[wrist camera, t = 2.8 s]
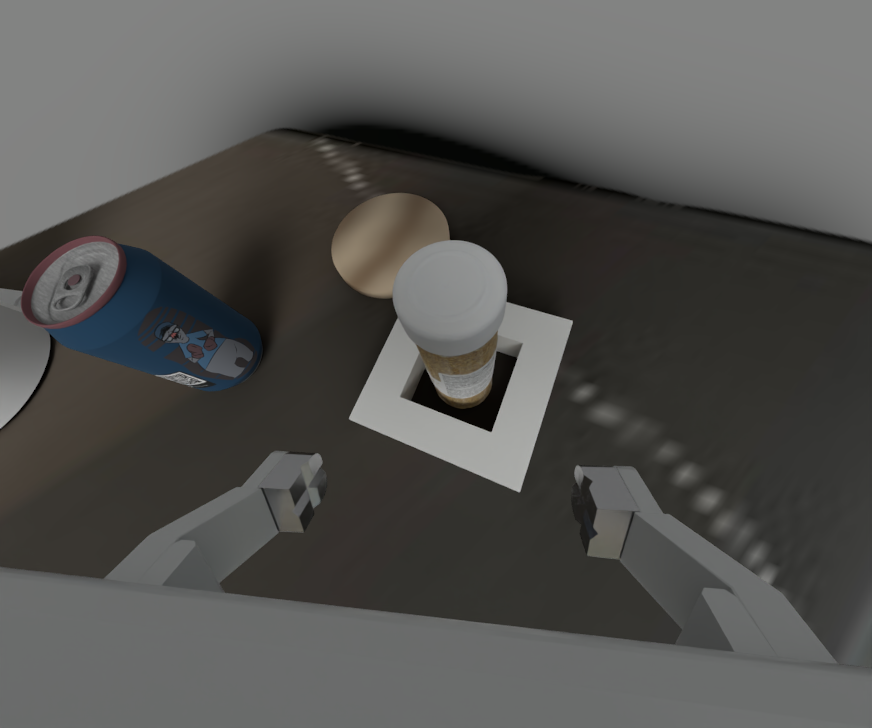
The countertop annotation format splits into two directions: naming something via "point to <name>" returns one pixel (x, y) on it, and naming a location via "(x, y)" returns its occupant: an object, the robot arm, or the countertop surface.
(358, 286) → the disc
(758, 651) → the robot arm
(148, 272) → the soda can
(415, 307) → the sprinkles bottle
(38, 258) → the countertop surface
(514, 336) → the collar
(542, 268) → the countertop surface
